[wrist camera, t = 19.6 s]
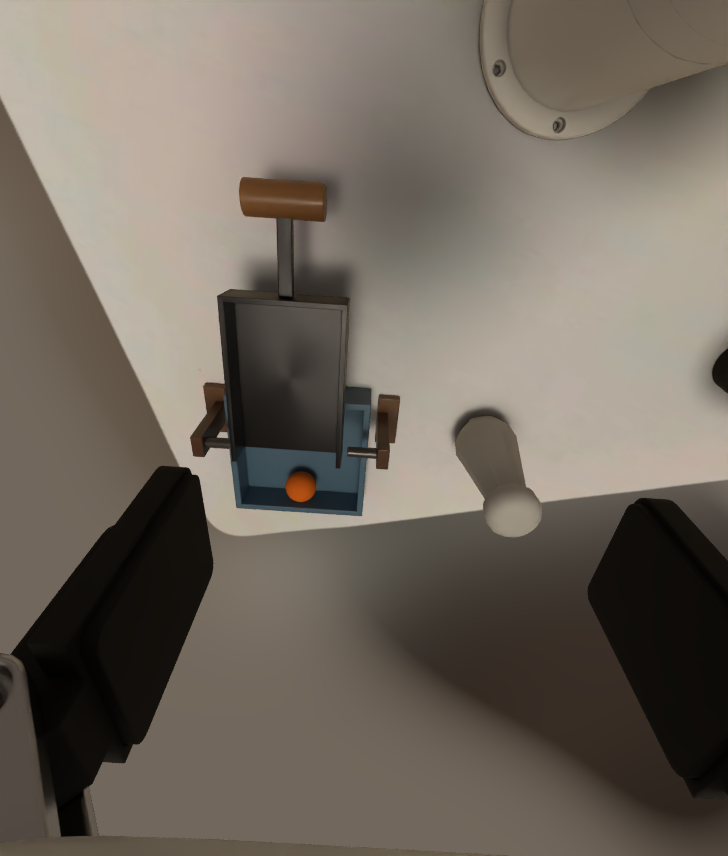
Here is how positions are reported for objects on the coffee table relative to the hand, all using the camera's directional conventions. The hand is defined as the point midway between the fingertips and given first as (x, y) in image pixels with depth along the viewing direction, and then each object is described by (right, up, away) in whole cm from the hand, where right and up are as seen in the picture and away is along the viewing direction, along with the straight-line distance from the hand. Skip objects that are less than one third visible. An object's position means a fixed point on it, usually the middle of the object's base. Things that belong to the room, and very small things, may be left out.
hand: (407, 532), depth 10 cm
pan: (-7, +10, +23) cm, 26 cm away
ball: (-8, -4, +35) cm, 36 cm away
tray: (-7, +1, +35) cm, 36 cm away
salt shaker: (+11, +2, +34) cm, 36 cm away
